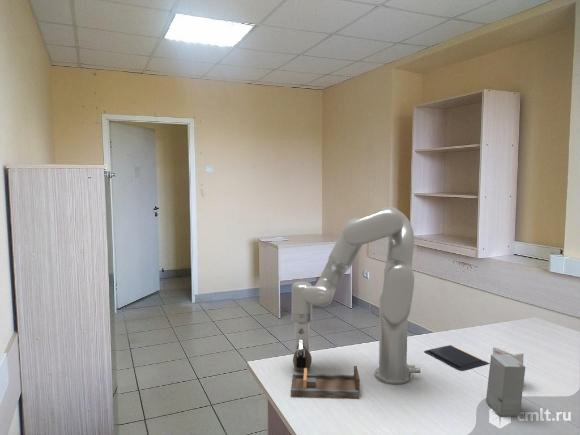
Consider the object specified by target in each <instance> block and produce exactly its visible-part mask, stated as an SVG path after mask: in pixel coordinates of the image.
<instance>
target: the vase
mask: <svg viewBox="0 0 580 435" xmlns="http://www.w3.org/2000/svg"><path fill="white" fill-rule="evenodd" d="M303 348H304V347H303ZM305 357H306V367H305V368H307V371H309V370H310V368H311V366H312V364H313V363H312V360H313V359H312V354H311V353H310V351H309V350H305ZM292 364H293V367H294V369H295V370H296V371H298V372H301V373H304V368H297V367H296V364H297V350H296V349H295V352H294V353H293V357H292Z"/></svg>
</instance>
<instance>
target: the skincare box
mask: <svg viewBox="0 0 580 435" xmlns="http://www.w3.org/2000/svg"><path fill="white" fill-rule="evenodd" d="M489 363H490V364H489V370H488V371H489V372H488V377H487V378H488V379H487V388H486V397H485V402H486V404H487V405H488V406H490V408H491V409H492V410H493V411H494V412H496V414H498V415H499V416H500V417H505V416H506V417H508V416H509V417H510V416H511V417H515V416H516V417H517V416H521V408H522V397H523V391H524V382H525V375H526V366H525V365H524V364H523V365H522V364H521V363H520V362H519V360H517V359H515V358H514V357H512V356H511V355H510V354H493V353H492V354H491V355H490V360H489Z"/></svg>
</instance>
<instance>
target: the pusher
mask: <svg viewBox="0 0 580 435" xmlns="http://www.w3.org/2000/svg"><path fill="white" fill-rule="evenodd" d="M303 374H304V377H303V389H307V386H309V387H316V378H307V374H308V370H307V368H304V372H303Z"/></svg>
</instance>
